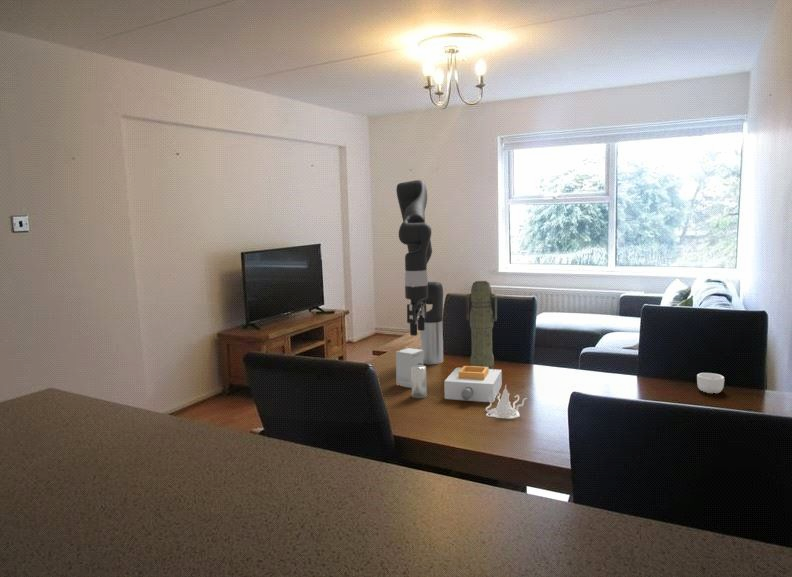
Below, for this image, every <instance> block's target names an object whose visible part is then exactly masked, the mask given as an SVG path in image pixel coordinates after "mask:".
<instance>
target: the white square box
mask: <svg viewBox="0 0 792 577" xmlns="http://www.w3.org/2000/svg"><path fill="white" fill-rule="evenodd" d="M502 371H503V370H502V369H496V368H495V369H494V368H493V369H489V367H480V366H471V365H462V367H461V366H460V367H459V366H458V367H455V369H453V370H452V372H451V373H450V374H449V375H448V376H447V378H445V380H444V383H443V384H444V385H443V386H444V400H455V401H467V402H470V401H471V402H480V403H481V402H483V403H490V401H489V399H490V400H491V402H492V403H494V402H495V401H496V399H497V397H496V396H498V395H499V393H500V390H501V388H502V386H503V383H502V382H503V380H502V379H503V376H502V373H503V372H502ZM498 392H499V393H498ZM495 398H496V399H495Z"/></svg>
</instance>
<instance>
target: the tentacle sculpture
mask: <svg viewBox="0 0 792 577" xmlns="http://www.w3.org/2000/svg"><path fill="white" fill-rule="evenodd" d="M500 397H501V398H500ZM514 398H517V399H516V400H515V401H513V403H512V405H511V401H510V393H509V391H508V389H507V384H505V386H504V389H503V390H502V394H501V393H500V391H499V392H498V394H497V397H496V400H498V402H497V404H496V407H495V408H491V407H492V405H493V404H492V403H493V402H491V400H490V399H489V401H490V402H489V405H488V406H486V407H485V411H486V414H485V416H486V417H490V418H496V419H507V420H508V419H510V420H511V419H515V418H519V417H520V416H521V415H520V411H519V407H523V406H524V404H525V401H526V400H528V398H527V397H524V398H523V399H522V402H521V404H517V403H518V402H519V401H520V395H519V394H516V395H515V396H514ZM516 404H517V405H516ZM512 406H513V407H512ZM490 408H491V409H490Z"/></svg>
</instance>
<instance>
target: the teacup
mask: <svg viewBox="0 0 792 577" xmlns="http://www.w3.org/2000/svg"><path fill="white" fill-rule="evenodd" d="M696 382H697V383H696V384H697V388H698V389H699V391H701V392H702V391H703V392H702V393H705V392H706V393H707V394H713V393H715V394H719V393H721V392H722V391H723V389H724V386H725V376H723V375H721V374H718V373H712V372H700V373H698V374H696ZM706 393H705V394H706Z"/></svg>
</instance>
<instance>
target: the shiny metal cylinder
mask: <svg viewBox="0 0 792 577" xmlns="http://www.w3.org/2000/svg"><path fill="white" fill-rule="evenodd" d="M411 384H412V388H411V397H412V398H413V399H425V398H426V397H428V394H427V393H428V392H427V390H428V389H427V388H428V387H427V366H426V365H424V364H423V365H414V366H411Z"/></svg>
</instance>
